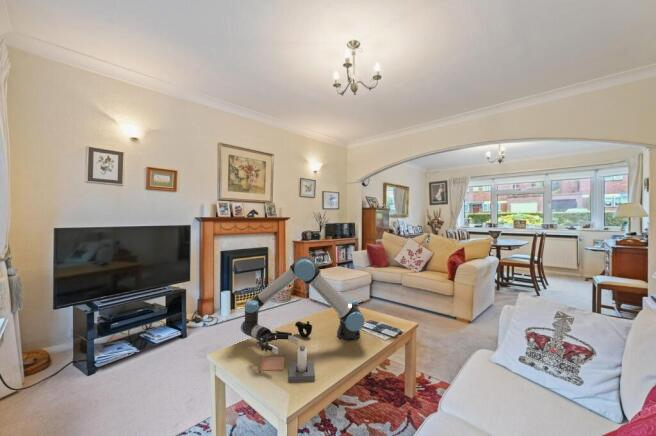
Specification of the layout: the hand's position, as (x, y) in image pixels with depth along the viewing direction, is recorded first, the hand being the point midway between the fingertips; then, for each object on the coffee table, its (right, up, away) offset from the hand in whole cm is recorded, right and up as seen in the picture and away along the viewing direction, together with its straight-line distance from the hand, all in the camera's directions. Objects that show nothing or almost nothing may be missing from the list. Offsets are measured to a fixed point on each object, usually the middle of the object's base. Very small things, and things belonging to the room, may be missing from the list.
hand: (287, 346), depth 141 cm
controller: (+5, -11, +37) cm, 39 cm away
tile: (-8, -11, +2) cm, 14 cm away
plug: (+8, -11, -6) cm, 15 cm away
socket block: (+8, -11, -6) cm, 15 cm away
